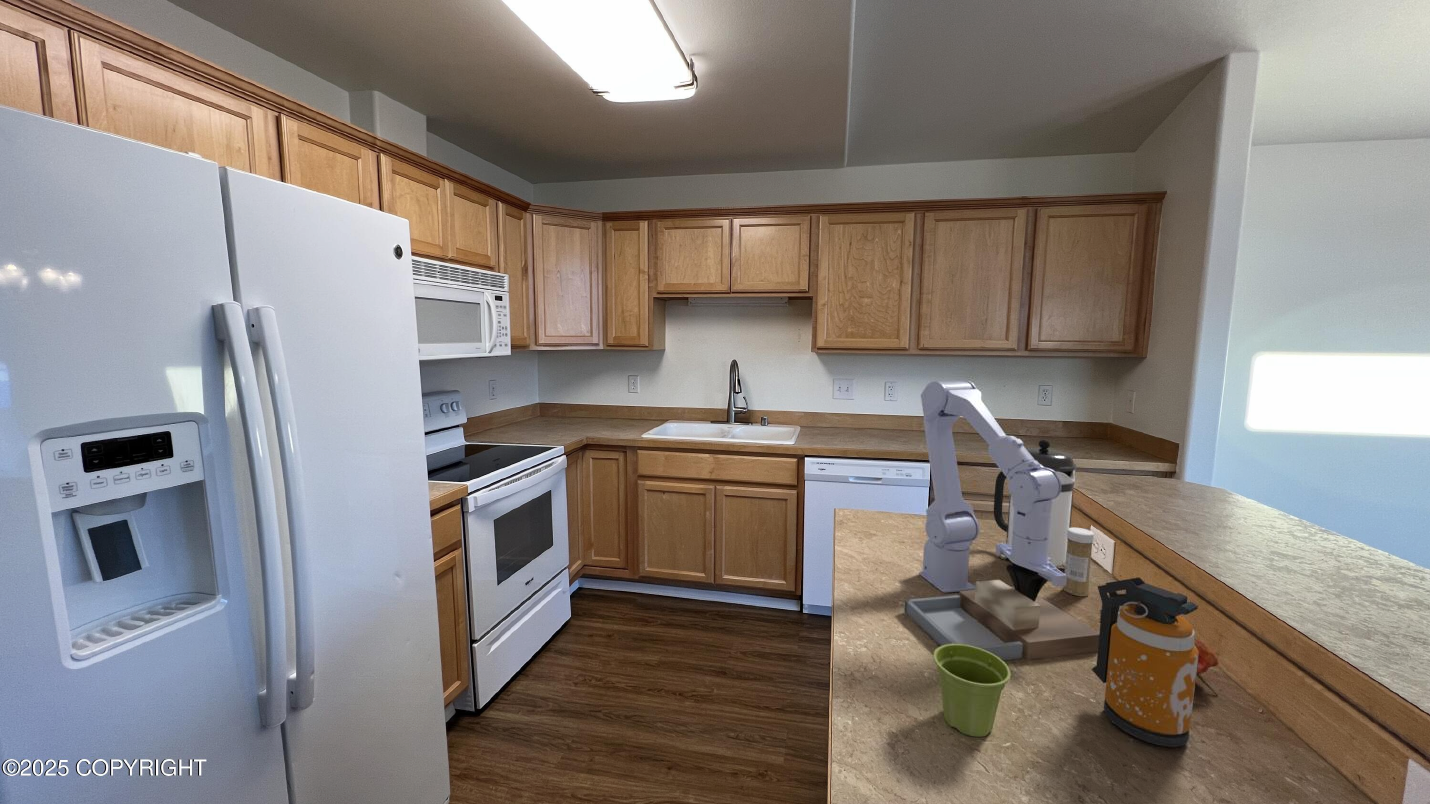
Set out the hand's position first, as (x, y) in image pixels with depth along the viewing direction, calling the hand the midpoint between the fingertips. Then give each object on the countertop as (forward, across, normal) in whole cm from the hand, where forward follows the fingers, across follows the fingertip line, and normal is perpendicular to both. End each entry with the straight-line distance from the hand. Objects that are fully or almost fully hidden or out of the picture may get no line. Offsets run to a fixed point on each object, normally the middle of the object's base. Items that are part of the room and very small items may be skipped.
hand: (1025, 605), depth 96 cm
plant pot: (+4, -20, +26) cm, 33 cm away
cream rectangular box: (+1, 0, +4) cm, 4 cm away
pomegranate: (+4, -18, -13) cm, 23 cm away
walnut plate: (+4, 0, 0) cm, 4 cm away
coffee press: (+4, +25, -23) cm, 34 cm away
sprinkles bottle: (+4, +10, -21) cm, 24 cm away
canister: (+4, -24, +3) cm, 25 cm away
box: (+4, 0, +13) cm, 14 cm away
